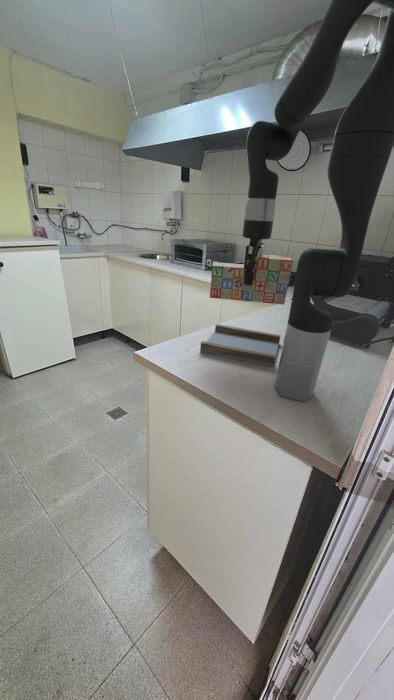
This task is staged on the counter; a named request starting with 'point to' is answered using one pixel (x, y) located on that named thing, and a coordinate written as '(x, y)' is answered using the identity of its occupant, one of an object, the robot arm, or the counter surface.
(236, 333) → the tray
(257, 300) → the stack of blocks
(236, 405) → the counter surface
